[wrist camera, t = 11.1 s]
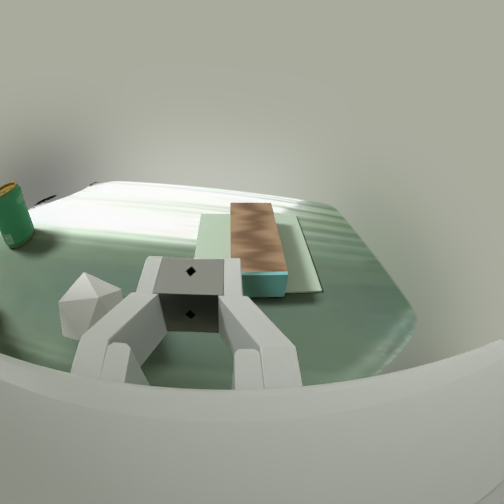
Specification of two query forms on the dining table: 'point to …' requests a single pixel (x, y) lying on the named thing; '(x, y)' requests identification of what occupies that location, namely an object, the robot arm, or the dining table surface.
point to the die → (86, 305)
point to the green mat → (292, 241)
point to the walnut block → (258, 249)
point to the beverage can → (14, 216)
